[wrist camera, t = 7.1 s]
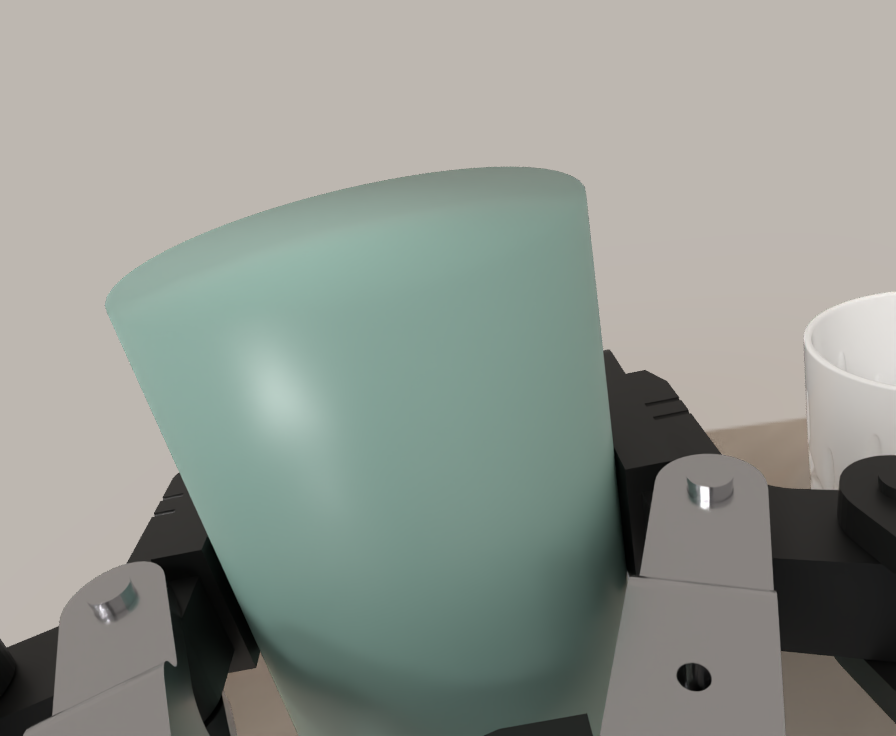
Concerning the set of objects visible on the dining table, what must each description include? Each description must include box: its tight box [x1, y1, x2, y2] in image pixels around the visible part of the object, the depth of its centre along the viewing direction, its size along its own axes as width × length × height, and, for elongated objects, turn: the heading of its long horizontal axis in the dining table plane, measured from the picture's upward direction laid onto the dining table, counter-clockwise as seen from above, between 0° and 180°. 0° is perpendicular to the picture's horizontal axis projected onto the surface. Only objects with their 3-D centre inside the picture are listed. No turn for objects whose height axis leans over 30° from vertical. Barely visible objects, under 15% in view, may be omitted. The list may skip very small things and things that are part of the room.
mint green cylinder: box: [105, 167, 628, 736], centre depth 11 cm, size 6×6×11 cm
